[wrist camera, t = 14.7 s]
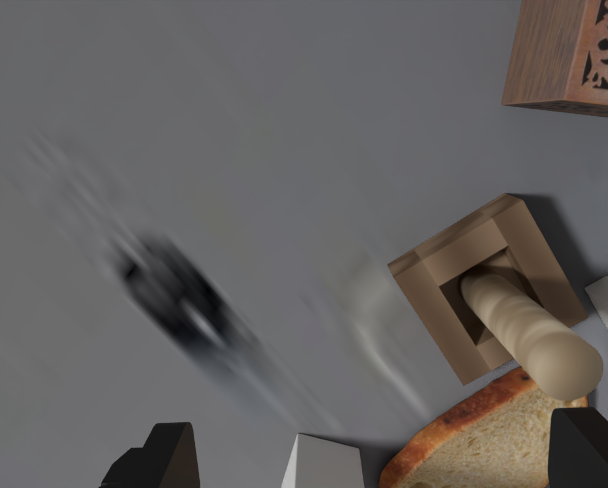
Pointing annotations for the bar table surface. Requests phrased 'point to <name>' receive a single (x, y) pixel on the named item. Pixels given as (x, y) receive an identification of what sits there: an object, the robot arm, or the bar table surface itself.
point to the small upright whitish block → (600, 297)
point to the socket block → (497, 255)
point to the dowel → (532, 335)
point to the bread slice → (483, 440)
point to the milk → (323, 465)
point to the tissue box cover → (560, 57)
